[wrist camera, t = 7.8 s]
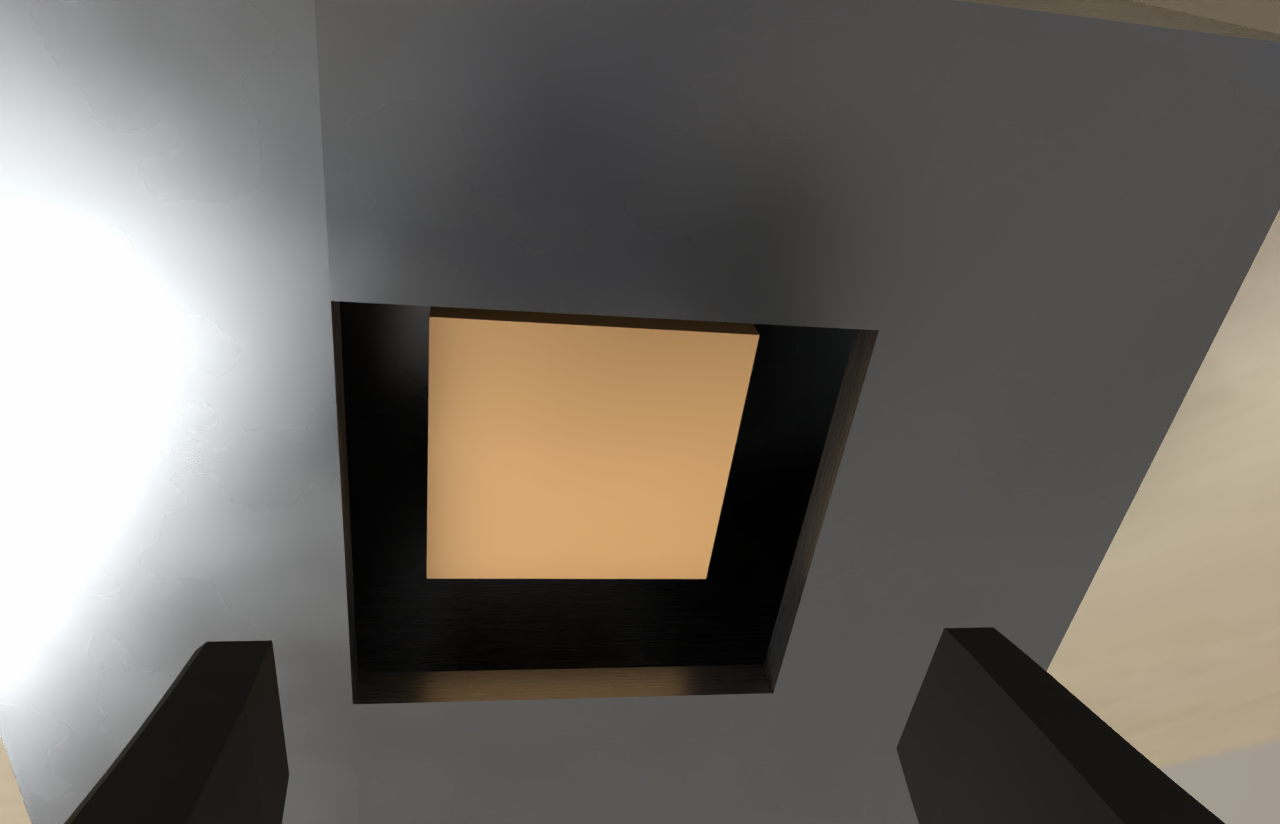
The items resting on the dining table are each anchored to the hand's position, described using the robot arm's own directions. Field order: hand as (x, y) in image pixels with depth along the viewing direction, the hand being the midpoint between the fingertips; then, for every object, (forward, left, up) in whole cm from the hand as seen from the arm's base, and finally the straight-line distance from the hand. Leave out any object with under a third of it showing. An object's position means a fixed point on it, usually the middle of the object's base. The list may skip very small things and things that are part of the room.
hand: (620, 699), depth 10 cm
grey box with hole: (0, 0, -9) cm, 9 cm away
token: (0, 0, -8) cm, 8 cm away
